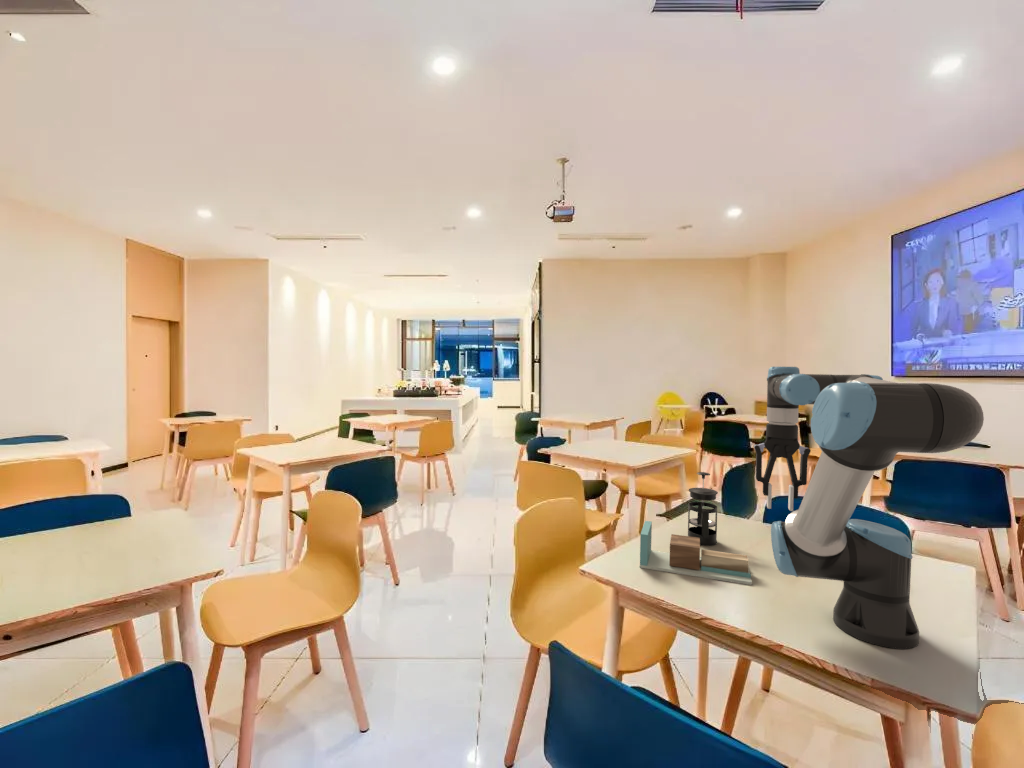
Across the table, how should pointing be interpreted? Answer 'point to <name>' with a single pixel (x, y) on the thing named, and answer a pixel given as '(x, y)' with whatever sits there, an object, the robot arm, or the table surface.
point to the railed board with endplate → (662, 561)
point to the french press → (703, 515)
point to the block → (685, 552)
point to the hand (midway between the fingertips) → (779, 508)
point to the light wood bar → (724, 560)
